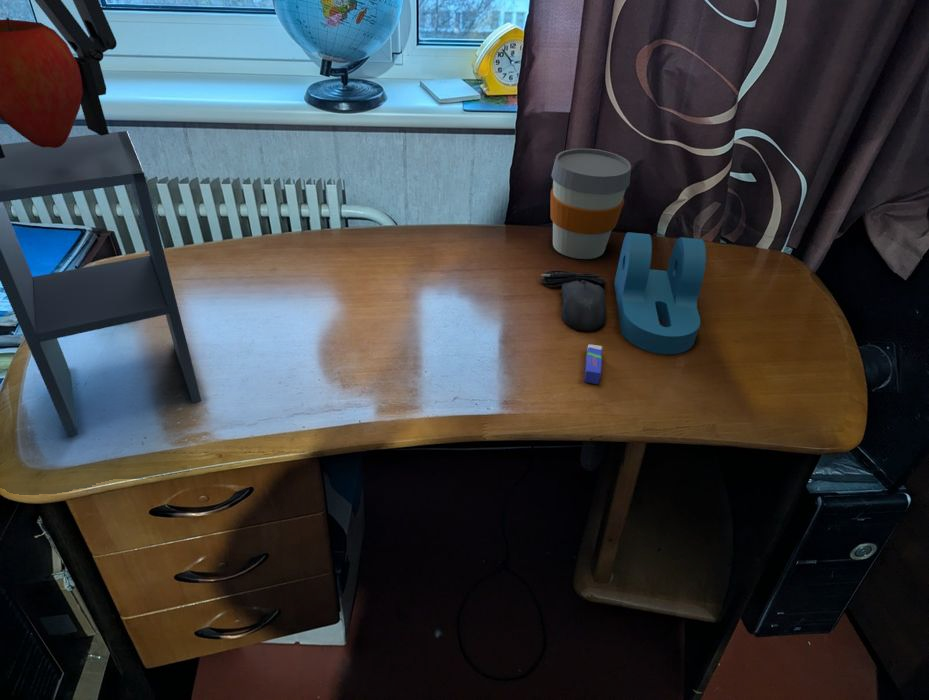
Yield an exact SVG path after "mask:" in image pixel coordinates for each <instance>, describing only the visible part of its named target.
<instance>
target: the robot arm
mask: <svg viewBox="0 0 929 700" xmlns="http://www.w3.org/2000/svg"><path fill="white" fill-rule="evenodd" d="M34 2H35V3H36V4H37V5H38V7H39V8H40V10H41V11H42V12H43V14H44V15H45V16H46V17H47V18H48V20H49V21H50V22H51V23H52V25H53V26H54V27H55V29H56V30H57V31H58V33H59V34H60V36H61V37H62V38H63V40H64V41H65V42H66V43H67V45H68V46H70V47H71V49H72V50H73V51H74V53H75V54H76V55H77V56H74V58H75V60H76V62H77V64H78V65H79V70H80V74H81V79H82V90H83V93H82V98H81V104H80V108H81V110H82V113H83V114H82V115H83V117H84V120H85V124H86V128H87V129H88V130H89V131H92V132H94V134H95V133H96V134H99V135H101V136H102V135H107V134H109V133H110V132H109V129H108V125H107V121H106V117H105V113H104V110H103V107H102V103H101V99H100V96H105V95H107V85H106V82H105V77H104V74H103V70H102V67H101V64H100V62H101V61H102V60H103V59H104V54H105V52H107V51H109V50H110V51H111V50H114V49H116V47H117V44H118V43H117V39H116V37H115V35H114V32H113V29H112V28H111V26H110V24H109V23H110V22H109V21H108V19H107V17H106V15H105V13H104V10H103V8H102V6H101V3H100V0H72V3H73V4H74V6H75V9H76V10H77V12H78V15H79V17H80V19H81V21H82V23H83V25H84V28H85V30H86V32H87V33H86V32H85V30H84V29H83V27H82V26H81V25H80V23H79V22H78V20H76V18H75V17H74V15H73V14H72V13H71V12H70V10H69V8H68V7H67V6H66V5H65V3H64V2H63V1H62V0H34ZM1 145H2V144H0V159H1V158H5V155H4V153H3V150H2V147H1Z"/></svg>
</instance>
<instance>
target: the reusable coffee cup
mask: <svg viewBox="0 0 929 700" xmlns="http://www.w3.org/2000/svg"><path fill="white" fill-rule="evenodd" d="M631 173H632V164H631V162H630V161H629V160H628V159H627V158H625V157H623V156H622V155H619V154H618V153H617V154H616V153H614V152H611V151H608V150H607V151H606V150H603V149H602V150H601V149H595V148H583V147H582V148H571V149H570V148H569V149H567V150H566V149H565V150H563V151H560V152H558V153H557V154H556V156H555V158H554V163H553V167H552V171H551V174H550V176H551V179H552V188H551V189H550V220H551V222H552V247H553V249H554V250H555V251H557V253H559V254H561V255H562V256H566V257H568V258H572V259H579V260H591V259H596V258H599V257H600V256H602V255H603V254H604V252H605V251H606V249H607V246H608V242H609V240H610V237H611V234H612V231H613V230H614V229H615V228H616V227H617V224H618V221H619V218H620V216H621V212H622V209H623V207H624V203H625V197H624V196H625V194H626V193H625V192H626V190H627V189H628V188H629V187H630V183H631Z"/></svg>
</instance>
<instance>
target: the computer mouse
mask: <svg viewBox="0 0 929 700" xmlns="http://www.w3.org/2000/svg"><path fill="white" fill-rule="evenodd" d="M541 277H542V279H541V283H542V284H545V286H546V287H548V288H556V287H557V288H558V287H561V297H562V308H561V318H562V319H563V321H564V322H565V323H566V324H567V325H568V326H569V327H571V328H573V329H575V330H577V331H583V332H591V331H594V330H598V329H599V328H600V327H602V326H603V325H604V324H605V323H606V319H607V304H606V303H607V301H606V291H605V290H604V288H603V287H604V286H605V285H606V279H605V277H602V274H596V273H589V272H588V273H587V272H586V273H585V272H583V273H582V272H580V273H578V272H573V271H569V270H561V269H558V270H547V271H545V272H544V273H543V274H541Z"/></svg>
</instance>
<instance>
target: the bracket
mask: <svg viewBox="0 0 929 700" xmlns="http://www.w3.org/2000/svg"><path fill="white" fill-rule="evenodd" d="M652 249H653V243H652V236H651V234H649V233H639V232H631V231H629V232H626V234H625V235H624V238H623V241H622V245H621V249H620V255H619V259H618V264H617V268H616V273H615V278H614V281H613V282H614V293H615V299H616V300H615V301H616V307H617V316H618V324H619V331H620V333H621V335H622V336H623V337H624V338H625V339H626V340H627V341H628V342H629V343H630V344H632V345H633V346H635V347H637V348H639V349H641V350H644V351H646V352H649V353H653V354H658V355H677V354H681V353H685V352H687V351H688V350H690V349H691V348H692V347H693V346H694V345H695V341H696V338H697V336H698V332H699V329H700V326H701V317H700V314H699V311H698V299H699V296H700V292H701V288H702V286H703V281H704V276H705V271H706V261H707V251H706V250H707V249H706V244H705V242H704V239H701V238H691V237H681V236H680V237H678V238H677V239H676V240H675V242H674V244H673V246H672V250H671V254H670V257H669V260H668V265H667V269H666V270H659V269H651V262H652V253H653V251H652ZM660 321H661V323H660ZM661 324H662V325H661Z"/></svg>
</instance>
